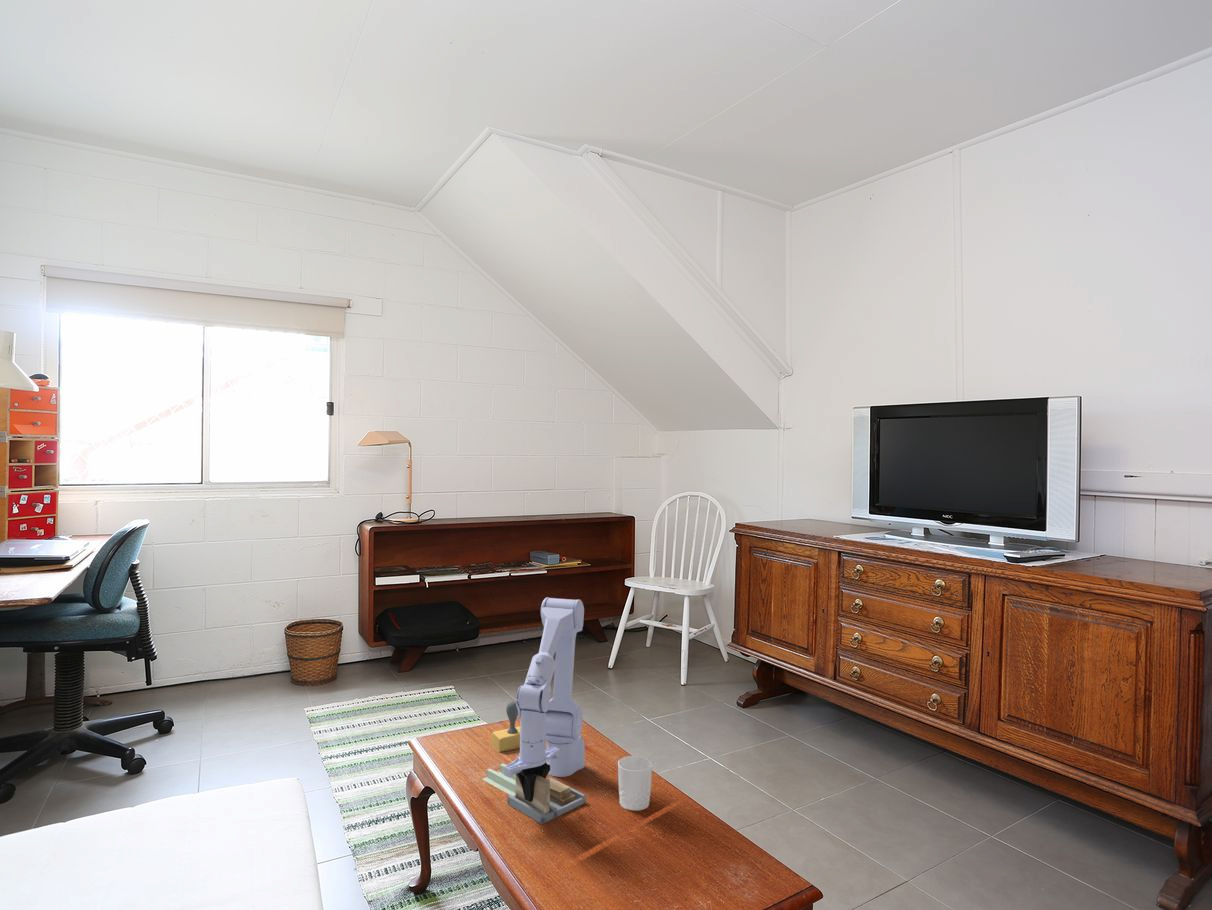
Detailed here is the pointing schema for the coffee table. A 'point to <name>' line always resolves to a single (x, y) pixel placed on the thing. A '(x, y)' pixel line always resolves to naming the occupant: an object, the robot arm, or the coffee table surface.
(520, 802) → the tray
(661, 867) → the coffee table surface
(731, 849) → the coffee table surface
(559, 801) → the offcut lower
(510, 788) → the stand
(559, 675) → the robot arm
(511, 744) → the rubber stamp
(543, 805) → the birch sheet
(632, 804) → the white cup
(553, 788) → the offcut upper
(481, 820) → the coffee table surface
